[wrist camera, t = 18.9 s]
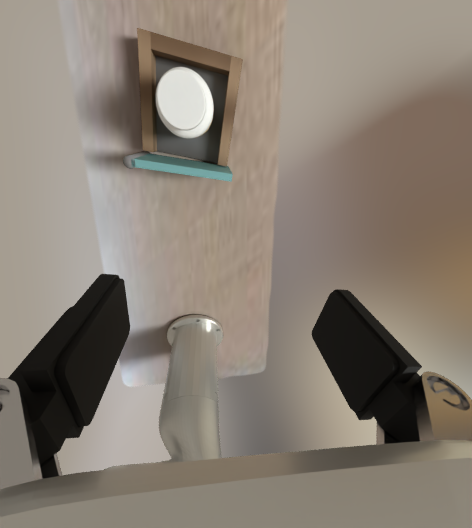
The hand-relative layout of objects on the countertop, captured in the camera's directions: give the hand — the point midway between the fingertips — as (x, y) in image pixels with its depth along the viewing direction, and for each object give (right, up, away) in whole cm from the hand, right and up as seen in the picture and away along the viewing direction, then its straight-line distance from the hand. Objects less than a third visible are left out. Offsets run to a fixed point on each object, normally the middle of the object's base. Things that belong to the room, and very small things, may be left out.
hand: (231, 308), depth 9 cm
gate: (-7, +16, +19) cm, 26 cm away
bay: (-5, +21, +16) cm, 27 cm away
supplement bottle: (-5, +21, +16) cm, 27 cm away
